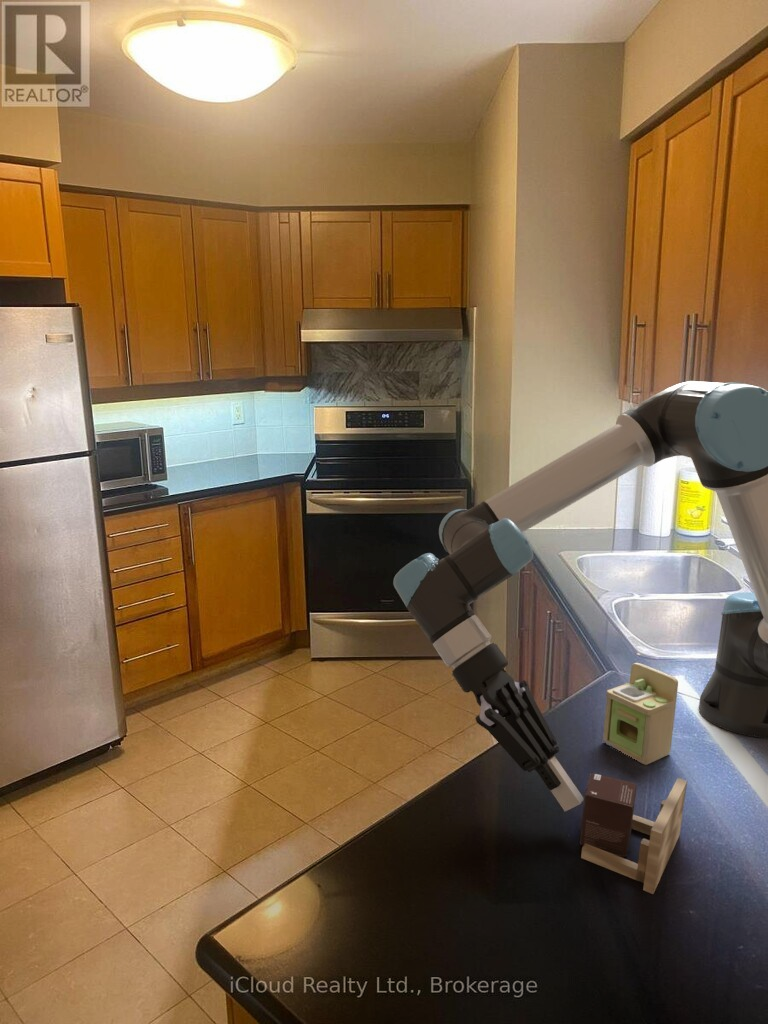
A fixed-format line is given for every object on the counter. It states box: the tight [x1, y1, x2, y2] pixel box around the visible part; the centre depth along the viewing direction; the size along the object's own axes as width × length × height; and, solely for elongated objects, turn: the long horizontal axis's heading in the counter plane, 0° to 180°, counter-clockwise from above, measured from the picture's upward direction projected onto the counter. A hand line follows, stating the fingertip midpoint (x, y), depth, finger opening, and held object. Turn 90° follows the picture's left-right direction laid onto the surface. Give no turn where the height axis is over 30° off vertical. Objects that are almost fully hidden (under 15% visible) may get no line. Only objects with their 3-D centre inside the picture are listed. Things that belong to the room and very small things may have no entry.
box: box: [579, 773, 637, 858], centre depth 97 cm, size 6×6×7 cm
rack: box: [580, 777, 688, 895], centre depth 95 cm, size 14×9×8 cm, turn 147°
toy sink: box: [602, 662, 679, 766], centre depth 121 cm, size 8×7×13 cm
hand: (574, 805), depth 99 cm, fingers closed
